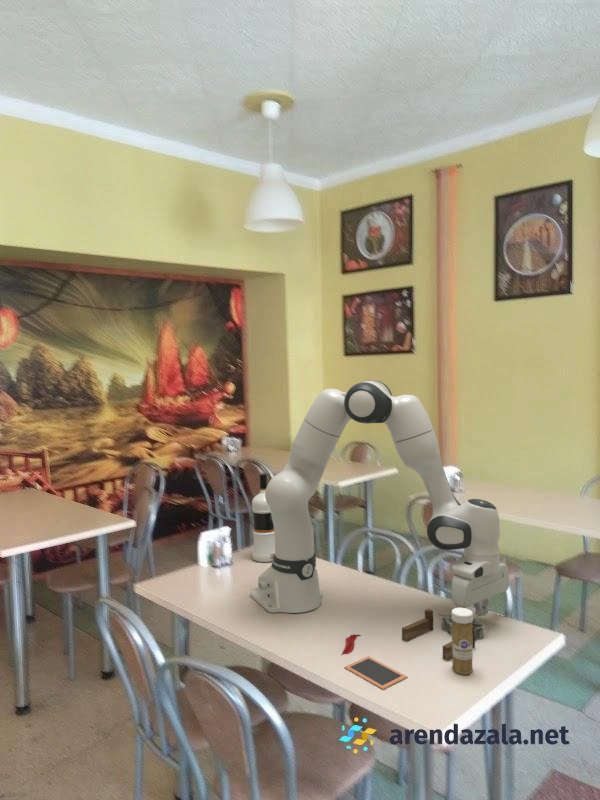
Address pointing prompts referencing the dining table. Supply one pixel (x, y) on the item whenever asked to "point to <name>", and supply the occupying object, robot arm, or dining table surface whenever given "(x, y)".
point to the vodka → (262, 526)
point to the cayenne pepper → (349, 644)
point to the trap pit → (376, 672)
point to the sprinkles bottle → (462, 640)
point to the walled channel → (426, 626)
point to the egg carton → (478, 626)
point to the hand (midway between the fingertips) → (481, 614)
